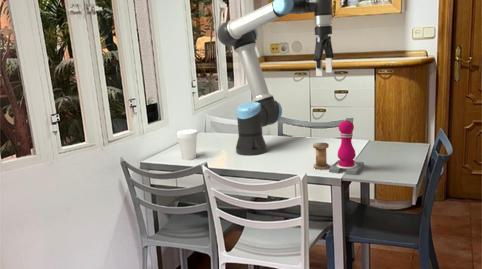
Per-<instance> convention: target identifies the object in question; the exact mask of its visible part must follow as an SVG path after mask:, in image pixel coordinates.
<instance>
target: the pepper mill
mask: <svg viewBox="0 0 482 269" xmlns="http://www.w3.org/2000/svg"><path fill="white" fill-rule="evenodd" d="M354 127H355V126H354V123H353V122H352V121H350V120H349V117H347V116H345V117H344V118H343V121H341V122H340V123H339V124H338V131H340V132H339V136H340V138H341V141H340V146H339V148H338V150H337V158H338V159H339V166H341V167H352V166H354V161H355V160H354V159H355V158H356V156H357V155H356V151H355V148H354V145H353V142H352V137H353V134H354V133H353V131H354V129H355V128H354Z"/></svg>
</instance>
